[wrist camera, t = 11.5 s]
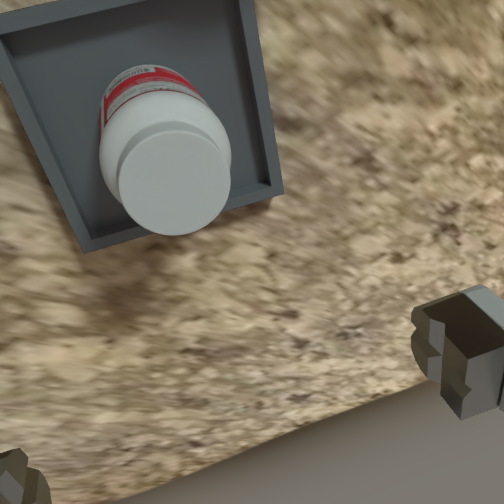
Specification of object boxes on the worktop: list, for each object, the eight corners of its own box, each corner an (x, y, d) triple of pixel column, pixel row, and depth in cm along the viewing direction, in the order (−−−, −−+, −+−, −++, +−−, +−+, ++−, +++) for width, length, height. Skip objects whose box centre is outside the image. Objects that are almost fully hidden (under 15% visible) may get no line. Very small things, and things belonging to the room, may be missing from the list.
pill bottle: (177, 178, 31) (209, 267, 22) (84, 141, 28) (75, 226, 19) (219, 91, 28) (273, 149, 19) (122, 41, 26) (133, 82, 17)
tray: (-20, 18, 24) (-28, 21, 22) (238, -42, 26) (246, -42, 24) (84, 240, 32) (84, 253, 30) (276, 183, 33) (284, 193, 32)
